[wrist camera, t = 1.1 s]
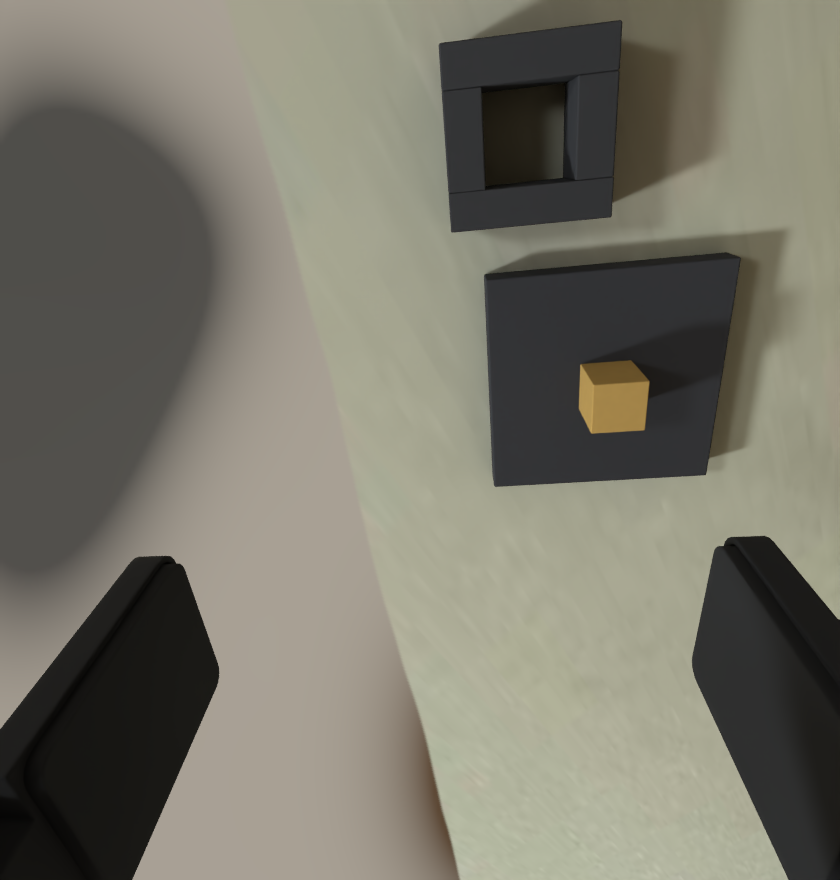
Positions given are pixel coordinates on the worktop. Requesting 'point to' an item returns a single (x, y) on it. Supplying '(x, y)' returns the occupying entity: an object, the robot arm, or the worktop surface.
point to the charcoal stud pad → (606, 329)
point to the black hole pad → (585, 123)
